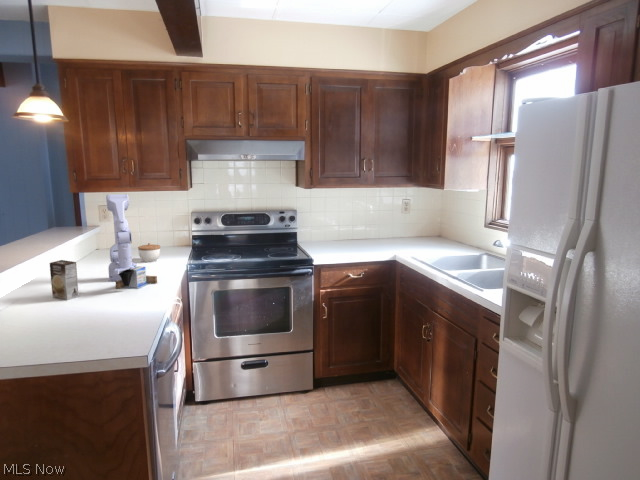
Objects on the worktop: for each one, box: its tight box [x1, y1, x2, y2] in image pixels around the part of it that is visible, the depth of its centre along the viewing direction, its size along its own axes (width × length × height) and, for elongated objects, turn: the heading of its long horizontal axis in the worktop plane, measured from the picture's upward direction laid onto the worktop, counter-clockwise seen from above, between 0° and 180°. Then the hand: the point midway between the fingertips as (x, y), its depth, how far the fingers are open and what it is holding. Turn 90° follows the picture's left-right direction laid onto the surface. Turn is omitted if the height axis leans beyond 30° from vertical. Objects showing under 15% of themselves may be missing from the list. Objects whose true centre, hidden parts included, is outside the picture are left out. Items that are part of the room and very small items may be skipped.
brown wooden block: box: [115, 275, 158, 290], centre depth 211 cm, size 13×14×4 cm
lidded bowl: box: [137, 242, 161, 263], centre depth 264 cm, size 13×13×11 cm
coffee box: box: [49, 259, 80, 301], centre depth 191 cm, size 9×6×16 cm
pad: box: [124, 283, 151, 290], centre depth 212 cm, size 7×11×1 cm, turn 170°
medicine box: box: [129, 265, 147, 288], centre depth 211 cm, size 8×4×9 cm, turn 170°
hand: (126, 285), depth 203 cm, fingers closed
